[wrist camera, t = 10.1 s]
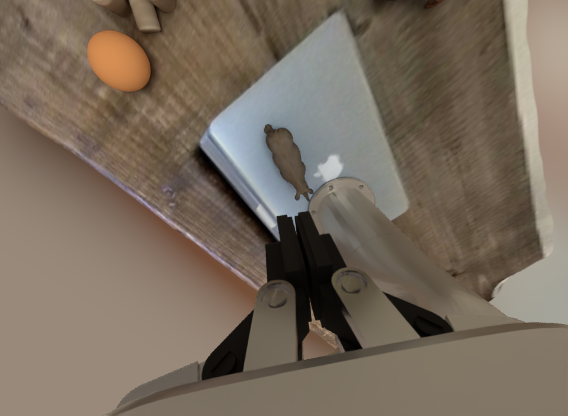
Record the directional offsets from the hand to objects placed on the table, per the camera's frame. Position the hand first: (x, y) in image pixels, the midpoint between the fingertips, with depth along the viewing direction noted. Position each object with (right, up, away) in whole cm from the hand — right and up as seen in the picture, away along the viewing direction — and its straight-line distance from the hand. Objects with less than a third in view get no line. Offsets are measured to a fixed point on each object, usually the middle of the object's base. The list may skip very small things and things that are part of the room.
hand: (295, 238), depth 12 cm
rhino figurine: (0, +9, +26) cm, 28 cm away
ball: (-20, +19, +15) cm, 31 cm away
